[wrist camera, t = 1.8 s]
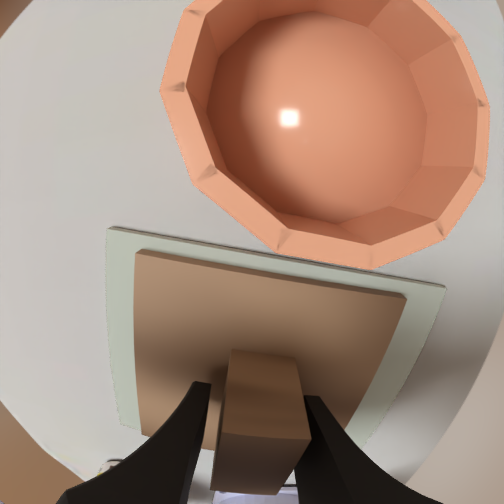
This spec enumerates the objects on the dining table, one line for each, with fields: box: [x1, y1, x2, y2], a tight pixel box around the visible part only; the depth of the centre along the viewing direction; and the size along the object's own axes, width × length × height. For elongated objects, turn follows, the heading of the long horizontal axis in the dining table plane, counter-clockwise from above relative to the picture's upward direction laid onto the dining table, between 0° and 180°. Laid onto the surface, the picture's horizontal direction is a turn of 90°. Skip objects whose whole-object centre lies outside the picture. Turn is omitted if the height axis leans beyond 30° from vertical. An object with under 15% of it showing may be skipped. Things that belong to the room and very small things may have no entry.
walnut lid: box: [133, 249, 407, 495], centre depth 9 cm, size 10×10×5 cm
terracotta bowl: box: [160, 0, 490, 270], centre depth 7 cm, size 9×9×4 cm
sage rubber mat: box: [105, 227, 447, 449], centre depth 11 cm, size 11×14×1 cm
